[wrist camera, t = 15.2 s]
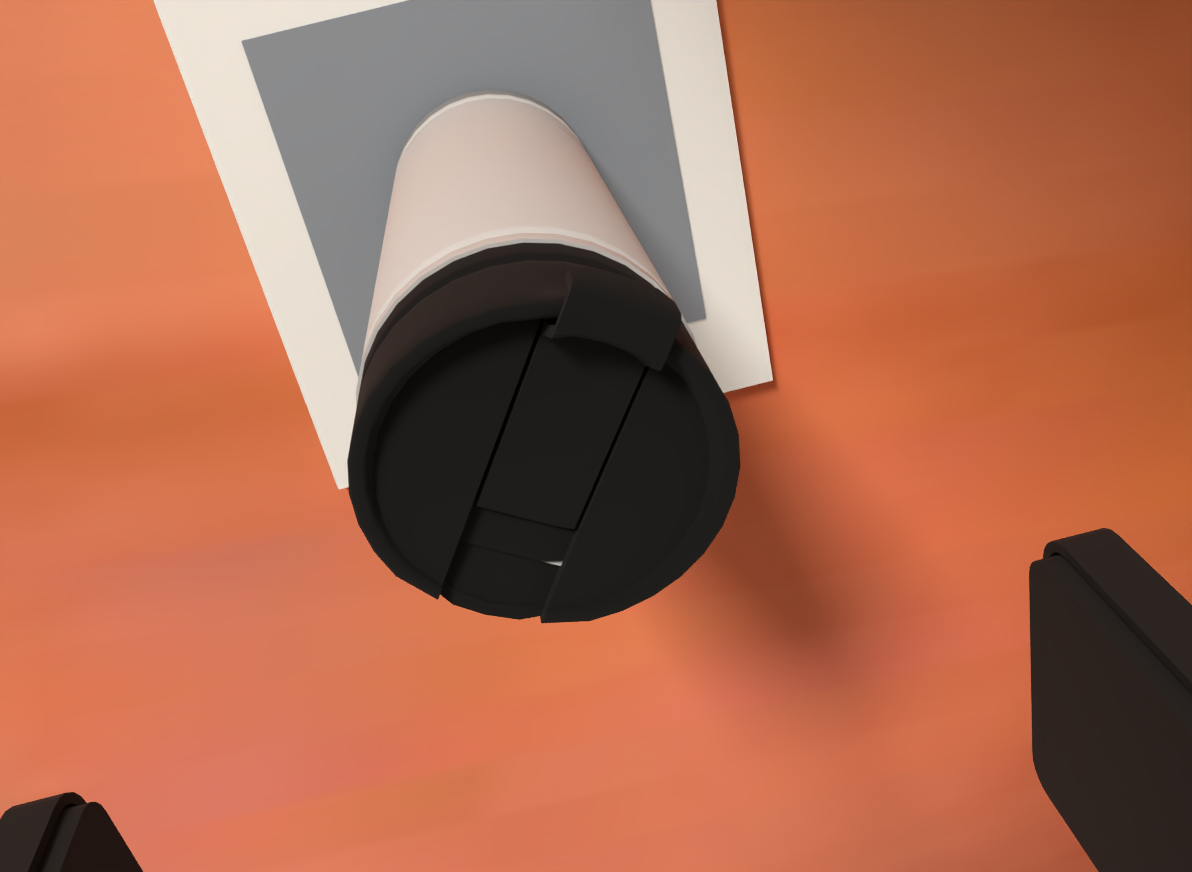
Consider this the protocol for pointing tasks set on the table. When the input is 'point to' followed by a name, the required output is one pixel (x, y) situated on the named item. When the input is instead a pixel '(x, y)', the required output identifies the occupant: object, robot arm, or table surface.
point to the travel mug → (529, 381)
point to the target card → (421, 83)
